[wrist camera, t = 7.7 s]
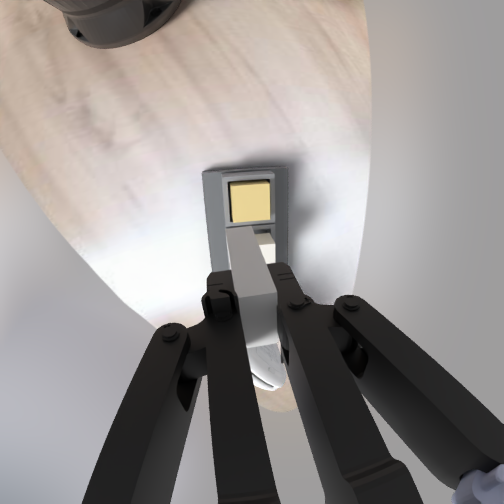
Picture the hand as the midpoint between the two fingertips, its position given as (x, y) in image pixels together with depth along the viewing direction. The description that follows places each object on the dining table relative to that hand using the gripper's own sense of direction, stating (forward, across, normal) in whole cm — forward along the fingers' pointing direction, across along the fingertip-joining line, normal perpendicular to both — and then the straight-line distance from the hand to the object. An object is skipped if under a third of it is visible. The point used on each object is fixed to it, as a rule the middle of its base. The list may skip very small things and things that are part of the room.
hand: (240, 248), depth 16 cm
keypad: (+18, +2, -7) cm, 20 cm away
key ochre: (+16, +2, -2) cm, 16 cm away
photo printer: (+18, +1, -21) cm, 28 cm away
